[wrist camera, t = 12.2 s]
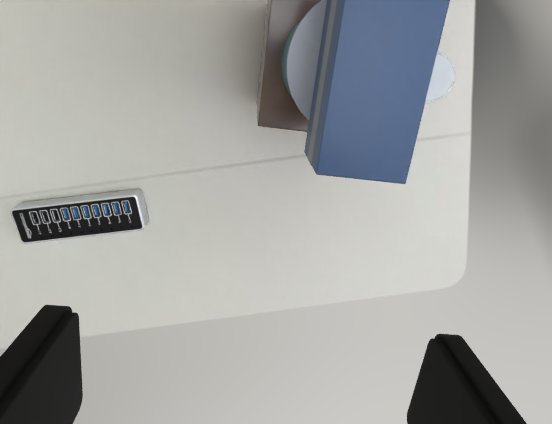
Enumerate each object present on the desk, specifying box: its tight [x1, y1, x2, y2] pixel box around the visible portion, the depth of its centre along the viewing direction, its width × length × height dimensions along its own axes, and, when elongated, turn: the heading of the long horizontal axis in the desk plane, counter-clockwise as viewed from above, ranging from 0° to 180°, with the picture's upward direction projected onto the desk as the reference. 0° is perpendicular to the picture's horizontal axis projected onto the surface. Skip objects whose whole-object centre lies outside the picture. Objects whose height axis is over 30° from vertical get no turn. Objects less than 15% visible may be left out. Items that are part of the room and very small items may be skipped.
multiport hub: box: [10, 189, 149, 244], centre depth 48 cm, size 4×14×2 cm, turn 96°
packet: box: [305, 0, 450, 184], centre depth 21 cm, size 10×4×5 cm, turn 173°
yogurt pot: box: [282, 0, 327, 120], centre depth 26 cm, size 8×8×7 cm
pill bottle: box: [425, 51, 455, 104], centre depth 41 cm, size 5×5×10 cm
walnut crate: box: [257, 0, 321, 132], centre depth 37 cm, size 10×10×16 cm
